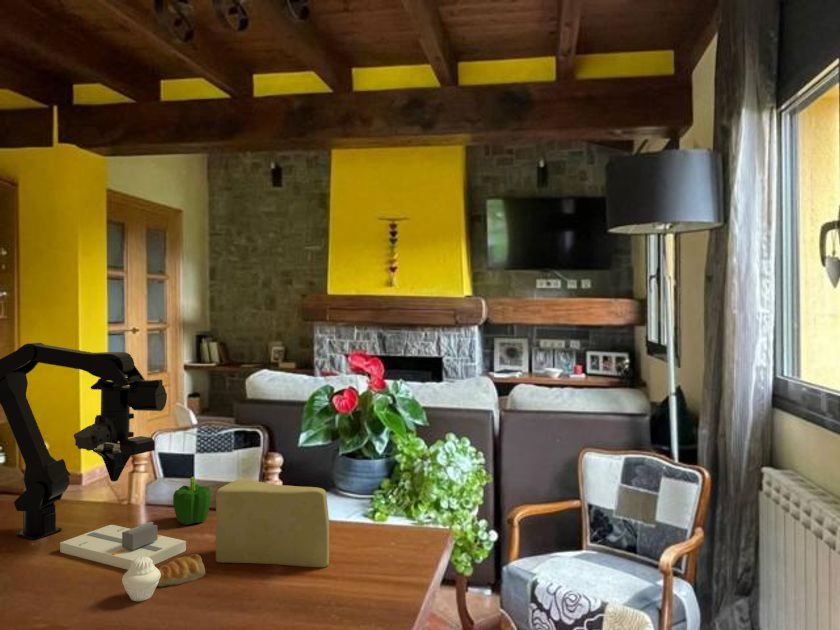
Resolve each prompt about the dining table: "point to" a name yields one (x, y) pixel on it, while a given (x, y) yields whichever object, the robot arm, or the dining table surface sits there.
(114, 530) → the dimmer console
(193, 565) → the pastry
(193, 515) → the bell pepper
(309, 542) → the cheese
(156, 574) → the muffin
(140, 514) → the dining table surface
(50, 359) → the robot arm
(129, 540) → the fader cap
